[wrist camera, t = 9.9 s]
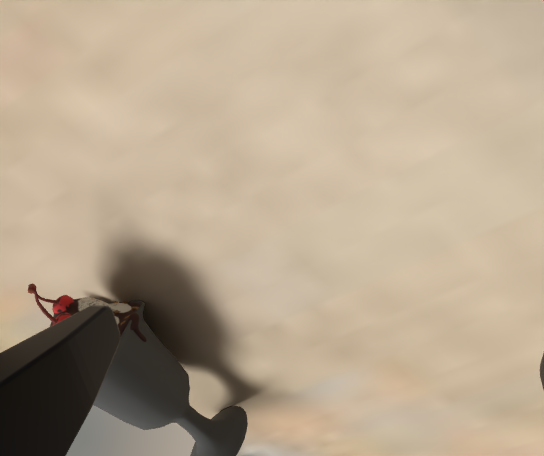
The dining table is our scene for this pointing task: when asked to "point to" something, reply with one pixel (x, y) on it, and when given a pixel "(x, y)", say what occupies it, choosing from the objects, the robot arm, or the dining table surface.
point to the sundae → (152, 381)
